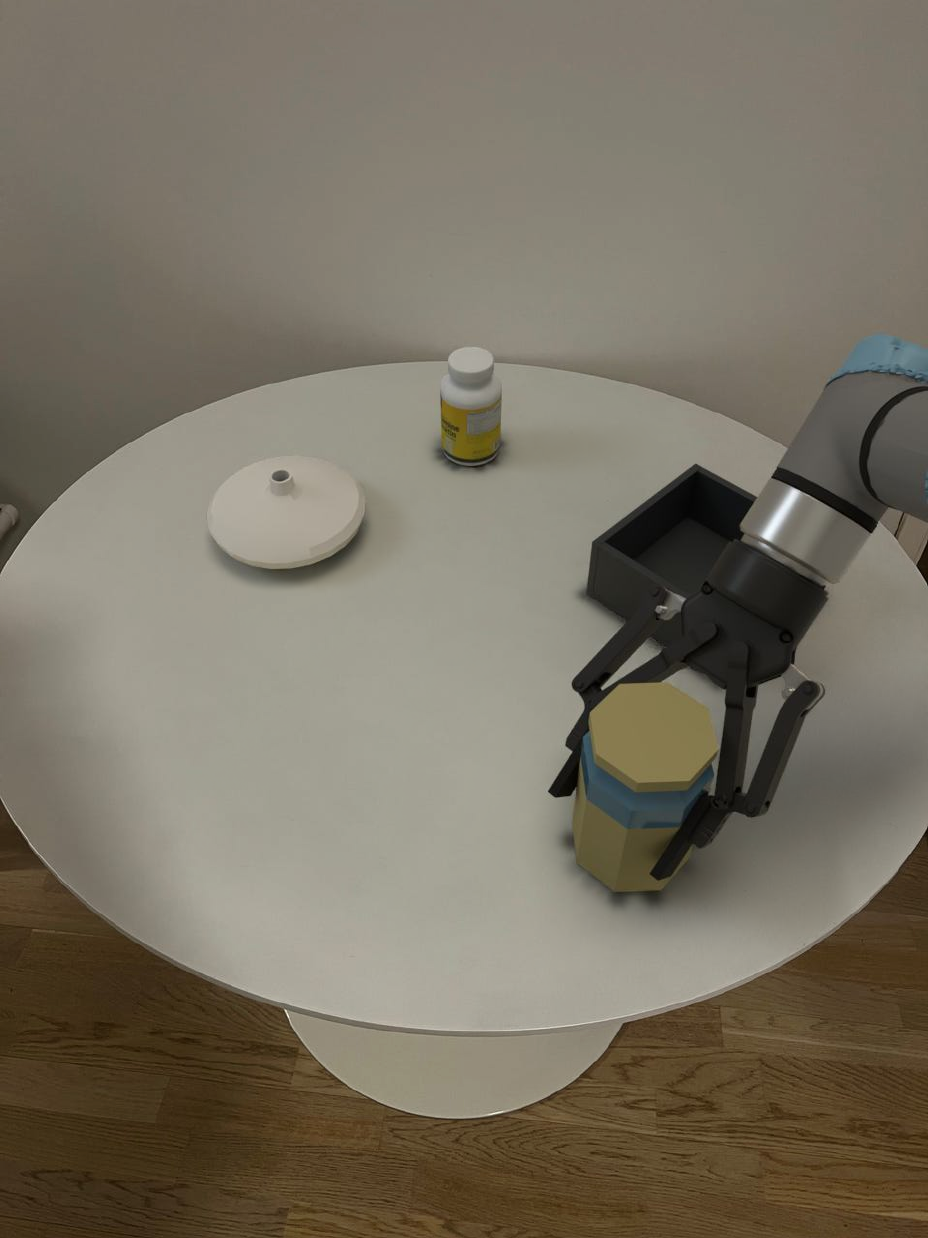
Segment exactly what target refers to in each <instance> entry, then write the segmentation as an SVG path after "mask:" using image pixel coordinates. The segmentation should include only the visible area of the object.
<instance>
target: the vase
mask: <svg viewBox="0 0 928 1238" xmlns="http://www.w3.org/2000/svg"><path fill="white" fill-rule="evenodd" d="M365 513H366V497H365V493H364V491H363V488H362V485H361V484H360V483H359V482H358V481H357V479H356V478H355V477H354V476H353V475H352V474H351V473H349V472H347V471H346V470H345V469H343V468H341V467H340V466H338V465H337V464H335V463H333V462H330V461H327V460H324V459H321V458H318V457H312V456H305V455H282V456H281V455H280V456H276V457H270V458H266V459H263V460H260V461H257V462H254V463H251V464H249V465H247V466H245V467H243V468H241V469H240V470H238V471H236V472H235V473H233V474H232V475H231V476H229V477H228V478H227V479H226V480H225V481H223V483H221V485H220V486H219V487H218V488H217V489H216V491H215V493H214V494H213V496H212V497H211V499H210V501H209V503H208V506H207V513H206V515H205V516H206V517H205V519H206V523H207V528H208V531H209V533H210V534H211V536H212V537H213V539H214V540H215V542H216V543H217V545H218V546H219V547H220V548H221V549H222V550H223V551H224V552H225V553H226V554H228V555H229V556H230V557H231V558H233V559H234V560H236V561H239V562H241V563H244V564H246V565H249V566H251V567H257V568H264V569H269V570H279V569H280V570H281V569H283V570H284V569H294V568H295V569H296V568H300V567H305V566H309V565H313V564H315V563H318V562H320V561H323V560H326V559H327V558H330V557H332V556H333V555H335V554H336V553H338V552H339V551H340V550H342V549H343V548H345V547H346V546H347V545H348V544H349V543H350V541H352V539H353V538H354V537H355V536H356V535H357V533H358V531H359V529H360V527H361V524H362V522H363V519H364V516H365Z"/></svg>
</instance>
